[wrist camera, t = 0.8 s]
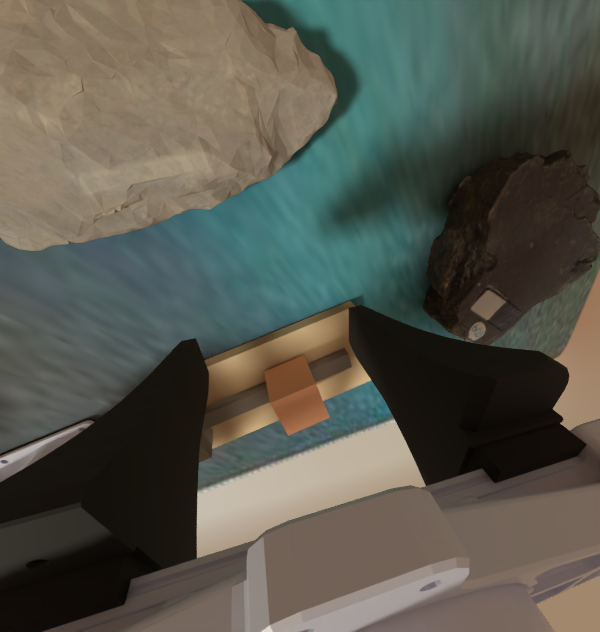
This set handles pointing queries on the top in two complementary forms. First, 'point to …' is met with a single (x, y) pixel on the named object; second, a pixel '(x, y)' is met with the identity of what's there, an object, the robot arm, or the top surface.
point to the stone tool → (143, 111)
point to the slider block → (295, 395)
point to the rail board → (266, 353)
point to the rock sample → (511, 243)
